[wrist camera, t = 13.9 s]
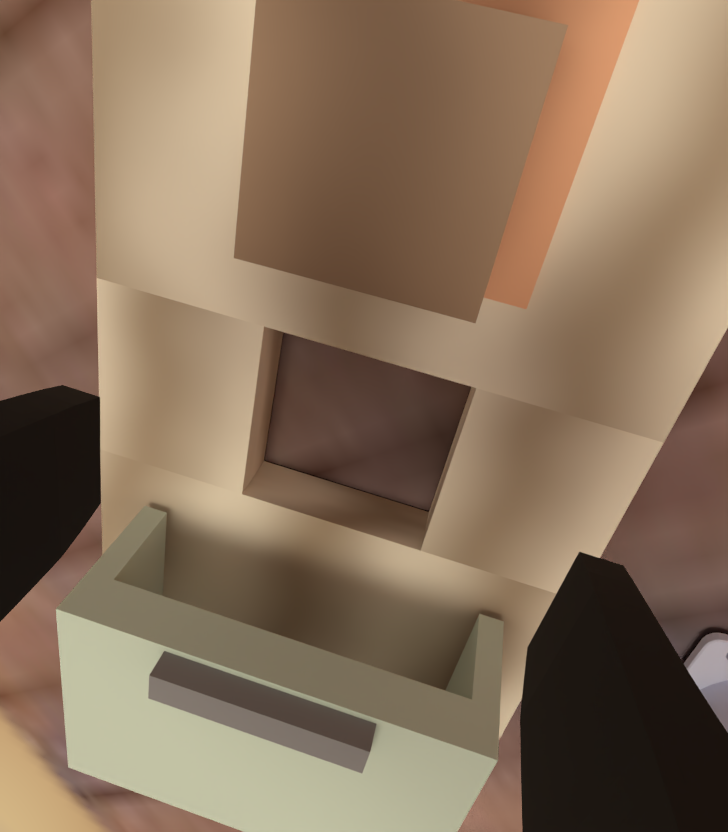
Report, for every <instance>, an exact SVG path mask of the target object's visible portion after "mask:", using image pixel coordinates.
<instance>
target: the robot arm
mask: <svg viewBox="0 0 728 832" xmlns="http://www.w3.org/2000/svg"><path fill="white" fill-rule="evenodd" d="M100 503H101V469H100V397H98V396H95V395H92V394H88V393H85V392H82V391H79V390H76V389H73V388H70V387H67V386H64V385H61V386H57V387H52V388H47V389H43V390H39V391H35V392H31V393H27V394H24V395H20V396H16V397H13V398H9V399H6V400H2V401H0V621H1V620H2V619H3V618H4V617H5V616H6V615H7V614H8V613H9V612H10V611H11V610H12V609H13V608H14V607H15V606H16V605H17V604H18V603H19V602H20V601H21V600H22V598H23V597H24V596H25V595H26V594H27V593H28V592H29V591H30V590H31V589H32V588H33V587H34V586H35V585H36V584H37V583H38V582H39V580H40V579H41V578H42V577H43V576H44V575H45V574H46V573H47V572H48V571H49V570H50V569H51V568H52V567H53V566H54V564H55V563H56V562H57V561H58V560H59V559H60V558H61V557H62V556H63V554H64V553H65V552H66V550H67V549H68V548H69V546H70V545H71V544H72V542H73V541H74V540H75V538H76V537H77V536H78V534H79V533H80V532H81V530H82V529H83V527H84V526H85V525H86V523H87V522H88V520H89V519H90V518H91V516H92V515H93V513H94V512H95V510H96V509H97V508H98V506H99V505H100ZM520 725H521V784H522V824H523V832H728V635H727V634H723V633H711V634H708V635H706V636H705V637H703V638H702V639H701V641H700V642H699V643H698V645H697V646H696V647H695V649H694V650H693V651H692V653H691V654H690V656H689V657H688V658H687V660H686V661H685V662H684V664H683V662H682V661H681V659H680V657H679V656H678V654H677V653H676V651H675V649H674V648H673V646H672V644H671V643H670V641H669V639H668V638H667V636H666V634H665V633H664V631H663V629H662V628H661V626H660V625H659V623H658V621H657V620H656V618H655V616H654V615H653V613H652V611H651V610H650V608H649V606H648V605H647V603H646V601H645V600H644V598H643V596H642V595H641V593H640V591H639V590H638V588H637V586H636V585H635V583H634V582H633V580H632V578H631V577H630V575H629V574H628V572H627V571H626V569H625V568H624V566H623V565H620V564H616V563H613V562H610V561H607V560H604V559H601V558H598V557H595V556H592V555H589V554H585V553H582V552H579V553H578V555H577V557H576V559H575V560H574V562H573V564H572V566H571V568H570V570H569V572H568V573H567V575H566V577H565V579H564V581H563V583H562V584H561V586H560V588H559V590H558V592H557V594H556V596H555V597H554V599H553V601H552V603H551V605H550V607H549V608H548V610H547V612H546V614H545V616H544V618H543V620H542V621H541V623H540V625H539V627H538V629H537V631H536V632H535V634H534V636H533V638H532V640H531V642H530V644H529V645H528V647H527V656H526V665H525V674H524V683H523V693H522V705H521V716H520Z"/></svg>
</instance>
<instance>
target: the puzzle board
mask: <svg viewBox="0 0 728 832" xmlns="http://www.w3.org/2000/svg"><path fill="white" fill-rule="evenodd" d="M458 1H462V2H467V3H471V4H476V5H480V6H485V7H489V8H494V9H498V10H503V11H507V12H512V13H516V14H521V15H525V16H530V17H534V18H539V19H543V20H548V21H552V22H557V23H561V24H566V25H568V27H567V31H566V34H565V37H564V40H563V43H562V47H561V50H560V53H559V56H558V59H557V63H556V66H555V69H554V72H553V76H552V79H551V82H550V85H549V88H548V92H547V95H546V98H545V101H544V105H543V108H542V111H541V114H540V117H539V121H538V124H537V127H536V130H535V133H534V137H533V140H532V143H531V146H530V150H529V153H528V156H527V159H526V162H525V166H524V169H523V172H522V175H521V179H520V182H519V185H518V188H517V191H516V195H515V198H514V201H513V204H512V207H511V211H510V214H509V217H508V220H507V224H506V227H505V230H504V233H503V236H502V240H501V243H500V246H499V249H498V253H497V256H496V259H495V262H494V265H493V269H492V272H491V275H490V278H489V281H488V285H487V288H486V291H485V294H484V298H483V301H482V304H481V307H480V310H479V314H478V317H477V320H476V323H472V322H469V321H465V320H461V319H457V318H454V317H450V316H446V315H443V314H439V313H435V312H432V311H428V310H424V309H420V308H417V307H413V306H409V305H406V304H402V303H398V302H395V301H391V300H387V299H384V298H380V297H376V296H372V295H369V294H365V293H361V292H358V291H354V290H350V289H347V288H343V287H339V286H335V285H332V284H328V283H324V282H321V281H317V280H313V279H310V278H306V277H302V276H298V275H295V274H291V273H287V272H284V271H280V270H276V269H273V268H269V267H265V266H261V265H258V264H254V263H250V262H247V261H243V260H239V259H236V258H234V247H235V236H236V224H237V213H238V201H239V190H240V178H241V167H242V155H243V144H244V132H245V120H246V109H247V97H248V86H249V74H250V63H251V51H252V40H253V28H254V17H255V5H256V0H91V20H92V69H93V118H94V167H95V217H96V266H97V315H98V364H99V397H100V463H101V512H102V555H103V554H104V553H105V551H106V550H107V549H108V548H109V547H110V546H111V544H112V543H113V542H114V541H115V540H116V539H117V537H118V536H119V535H120V534H121V533H122V532H123V531H124V529H125V528H126V527H127V526H128V525H129V524H130V522H131V521H132V520H133V519H134V518H135V517H136V515H137V514H138V513H139V512H140V511H141V510H142V508H143V507H144V506H147V507H151V508H154V509H157V510H160V511H163V512H166V513H167V522H166V541H165V561H164V580H163V596H164V597H167V598H170V599H173V600H176V601H179V602H182V603H185V604H188V605H191V606H194V607H197V608H200V609H203V610H206V611H209V612H212V613H215V614H218V615H221V616H224V617H227V618H230V619H233V620H236V621H239V622H242V623H245V624H248V625H251V626H254V627H257V628H260V629H263V630H266V631H269V632H272V633H275V634H278V635H281V636H284V637H287V638H290V639H293V640H296V641H299V642H302V643H305V644H308V645H310V646H313V647H316V648H319V649H322V650H325V651H328V652H331V653H334V654H337V655H340V656H343V657H346V658H349V659H352V660H355V661H358V662H361V663H364V664H367V665H370V666H373V667H376V668H379V669H382V670H385V671H388V672H391V673H394V674H397V675H400V676H403V677H406V678H409V679H412V680H415V681H418V682H421V683H424V684H427V685H430V686H433V687H436V688H439V689H442V690H446V688H447V686H448V683H449V681H450V679H451V677H452V674H453V672H454V670H455V668H456V665H457V663H458V661H459V659H460V656H461V654H462V652H463V650H464V647H465V645H466V643H467V641H468V638H469V636H470V634H471V632H472V629H473V627H474V625H475V623H476V620H477V618H478V616H479V614H482V615H485V616H488V617H491V618H495V619H498V620H501V621H504V628H503V652H502V676H501V700H500V724H499V739H500V737H501V735H502V733H503V732H504V730H505V728H506V726H507V724H508V723H509V721H510V719H511V717H512V715H513V714H514V712H515V710H516V708H517V706H518V705H519V703H520V701H521V699H522V693H523V683H524V674H525V665H526V656H527V647H528V645H529V644H530V642H531V640H532V638H533V636H534V634H535V632H536V631H537V629H538V627H539V625H540V623H541V621H542V620H543V618H544V616H545V614H546V612H547V610H548V608H549V607H550V605H551V603H552V601H553V599H554V597H555V596H556V594H557V592H558V590H559V588H560V586H561V584H562V583H563V581H564V579H565V577H566V575H567V573H568V572H569V570H570V568H571V566H572V564H573V562H574V560H575V559H576V557H577V555H578V553H579V552H582V553H585V554H589V555H592V556H595V557H598V558H600V557H601V555H602V553H603V551H604V550H605V548H606V546H607V544H608V542H609V541H610V539H611V537H612V535H613V533H614V532H615V530H616V528H617V526H618V524H619V522H620V521H621V519H622V517H623V515H624V513H625V512H626V510H627V508H628V506H629V504H630V503H631V501H632V499H633V497H634V495H635V494H636V492H637V490H638V488H639V486H640V485H641V483H642V481H643V479H644V477H645V476H646V474H647V472H648V470H649V468H650V467H651V465H652V463H653V461H654V459H655V458H656V456H657V454H658V452H659V450H660V449H661V447H662V445H663V443H664V441H665V440H666V438H667V436H668V434H669V432H670V431H671V429H672V427H673V425H674V423H675V422H676V420H677V418H678V416H679V414H680V413H681V411H682V409H683V407H684V405H685V404H686V402H687V400H688V398H689V396H690V395H691V393H692V391H693V389H694V387H695V386H696V384H697V382H698V380H699V378H700V377H701V375H702V373H703V371H704V369H705V368H706V366H707V364H708V362H709V360H710V358H711V357H712V355H713V353H714V351H715V349H716V348H717V346H718V344H719V342H720V340H721V339H722V337H723V335H724V333H725V331H726V330H727V328H728V0H458ZM283 332H285V333H288V334H292V335H295V336H298V337H302V338H305V339H309V340H312V341H316V342H319V343H323V344H326V345H329V346H333V347H336V348H340V349H343V350H347V351H350V352H354V353H357V354H360V355H364V356H367V357H371V358H374V359H378V360H381V361H385V362H388V363H391V364H395V365H398V366H402V367H405V368H409V369H412V370H415V371H419V372H422V373H426V374H429V375H433V376H436V377H440V378H443V379H446V380H450V381H453V382H457V383H460V384H464V385H467V386H471V389H470V392H469V395H468V398H467V401H466V404H465V407H464V410H463V413H462V416H461V419H460V422H459V425H458V428H457V431H456V434H455V437H454V440H453V443H452V445H451V448H450V451H449V454H448V457H447V460H446V463H445V466H444V469H443V472H442V475H441V478H440V481H439V484H438V487H437V490H436V493H435V496H434V499H433V501H432V504H431V507H430V510H429V512H427V511H424V510H420V509H417V508H414V507H411V506H408V505H404V504H401V503H398V502H395V501H391V500H388V499H385V498H382V497H379V496H375V495H372V494H369V493H366V492H362V491H359V490H356V489H353V488H350V487H346V486H343V485H340V484H337V483H333V482H330V481H327V480H324V479H321V478H317V477H314V476H311V475H308V474H304V473H301V472H298V471H295V470H292V469H288V468H285V467H282V466H279V465H275V464H272V463H269V462H266V461H264V458H265V451H266V445H267V438H268V431H269V425H270V418H271V411H272V404H273V398H274V391H275V384H276V378H277V371H278V364H279V358H280V351H281V344H282V338H283Z"/></svg>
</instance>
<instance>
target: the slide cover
mask: <svg viewBox="0 0 728 832" xmlns="http://www.w3.org/2000/svg"><path fill="white" fill-rule="evenodd" d="M166 522H167V513H166V512H163V511H160V510H157V509H154V508H151V507H147V506H144V507H143V508H142V510H141V511H140V512H139V513H138V514H137V515H136V517H135V518H134V519H133V520H132V521H131V522H130V524H129V525H128V526H127V527H126V528H125V529H124V531H123V532H122V533H121V534H120V535H119V536H118V537H117V539H116V540H115V541H114V542H113V543H112V544H111V546H110V547H109V548H108V549H107V550H106V551H105V553H104V554H103V555H102V556H101V557H100V558H99V559H98V561H97V562H96V563H95V564H94V565H93V566H92V568H91V569H90V570H89V571H88V572H87V573H86V575H85V576H84V577H83V578H82V579H81V580H80V581H79V583H78V584H77V585H76V586H75V587H74V588H73V590H72V591H71V592H70V593H69V594H68V595H67V597H66V598H65V599H64V600H63V601H62V602H61V604H60V605H59V606H58V607H57V608H56V617H57V629H58V642H59V655H60V667H61V680H62V693H63V705H64V718H65V731H66V744H67V756H68V767H69V768H71V769H74V770H77V771H80V772H82V773H85V774H88V775H91V776H93V777H96V778H99V779H101V780H104V781H107V782H110V783H112V784H115V785H118V786H121V787H123V788H126V789H129V790H132V791H134V792H137V793H140V794H142V795H145V796H148V797H151V798H153V799H156V800H159V801H162V802H164V803H167V804H170V805H172V806H175V807H178V808H181V809H183V810H186V811H189V812H192V813H194V814H197V815H200V816H203V817H205V818H208V819H211V820H213V821H216V822H219V823H222V824H224V825H227V826H230V827H233V828H235V829H238V830H241V831H244V832H457V831H458V830H459V828H460V826H461V824H462V823H463V821H464V819H465V817H466V816H467V814H468V812H469V810H470V809H471V807H472V805H473V803H474V802H475V800H476V798H477V796H478V794H479V793H480V791H481V789H482V787H483V786H484V784H485V782H486V780H487V779H488V777H489V775H490V773H491V772H492V770H493V768H494V766H495V765H496V763H497V761H498V748H499V724H500V700H501V676H502V652H503V628H504V621H501V620H498V619H495V618H491V617H488V616H485V615H482V614H479V616H478V618H477V620H476V623H475V625H474V627H473V629H472V632H471V634H470V636H469V638H468V641H467V643H466V645H465V647H464V650H463V652H462V654H461V656H460V659H459V661H458V663H457V665H456V668H455V670H454V672H453V674H452V677H451V679H450V681H449V683H448V686H447V688H446V690H442V689H439V688H436V687H433V686H430V685H427V684H424V683H421V682H418V681H415V680H412V679H409V678H406V677H403V676H400V675H397V674H394V673H391V672H388V671H385V670H382V669H379V668H376V667H373V666H370V665H367V664H364V663H361V662H358V661H355V660H352V659H349V658H346V657H343V656H340V655H337V654H334V653H331V652H328V651H325V650H322V649H319V648H316V647H313V646H310V645H308V644H305V643H302V642H299V641H296V640H293V639H290V638H287V637H284V636H281V635H278V634H275V633H272V632H269V631H266V630H263V629H260V628H257V627H254V626H251V625H248V624H245V623H242V622H239V621H236V620H233V619H230V618H227V617H224V616H221V615H218V614H215V613H212V612H209V611H206V610H203V609H200V608H197V607H194V606H191V605H188V604H185V603H182V602H179V601H176V600H173V599H170V598H167V597H164V596H163V580H164V561H165V541H166Z"/></svg>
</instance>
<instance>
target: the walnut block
mask: <svg viewBox="0 0 728 832" xmlns="http://www.w3.org/2000/svg"><path fill="white" fill-rule="evenodd" d="M567 27H568V25H566V24H561V23H557V22H552V21H548V20H543V19H539V18H534V17H530V16H525V15H521V14H516V13H512V12H507V11H503V10H498V9H494V8H489V7H485V6H480V5H476V4H471V3H467V2H462V1H458V0H256V5H255V17H254V28H253V40H252V51H251V63H250V74H249V86H248V97H247V109H246V120H245V132H244V144H243V155H242V167H241V178H240V190H239V201H238V213H237V224H236V236H235V247H234V258H236V259H239V260H243V261H247V262H250V263H254V264H258V265H261V266H265V267H269V268H273V269H276V270H280V271H284V272H287V273H291V274H295V275H298V276H302V277H306V278H310V279H313V280H317V281H321V282H324V283H328V284H332V285H335V286H339V287H343V288H347V289H350V290H354V291H358V292H361V293H365V294H369V295H372V296H376V297H380V298H384V299H387V300H391V301H395V302H398V303H402V304H406V305H409V306H413V307H417V308H420V309H424V310H428V311H432V312H435V313H439V314H443V315H446V316H450V317H454V318H457V319H461V320H465V321H469V322H472V323H476V320H477V317H478V314H479V310H480V307H481V304H482V301H483V298H484V294H485V291H486V288H487V285H488V281H489V278H490V275H491V272H492V269H493V265H494V262H495V259H496V256H497V253H498V249H499V246H500V243H501V240H502V236H503V233H504V230H505V227H506V224H507V220H508V217H509V214H510V211H511V207H512V204H513V201H514V198H515V195H516V191H517V188H518V185H519V182H520V179H521V175H522V172H523V169H524V166H525V162H526V159H527V156H528V153H529V150H530V146H531V143H532V140H533V137H534V133H535V130H536V127H537V124H538V121H539V117H540V114H541V111H542V108H543V105H544V101H545V98H546V95H547V92H548V88H549V85H550V82H551V79H552V76H553V72H554V69H555V66H556V63H557V59H558V56H559V53H560V50H561V47H562V43H563V40H564V37H565V34H566V31H567Z"/></svg>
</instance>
